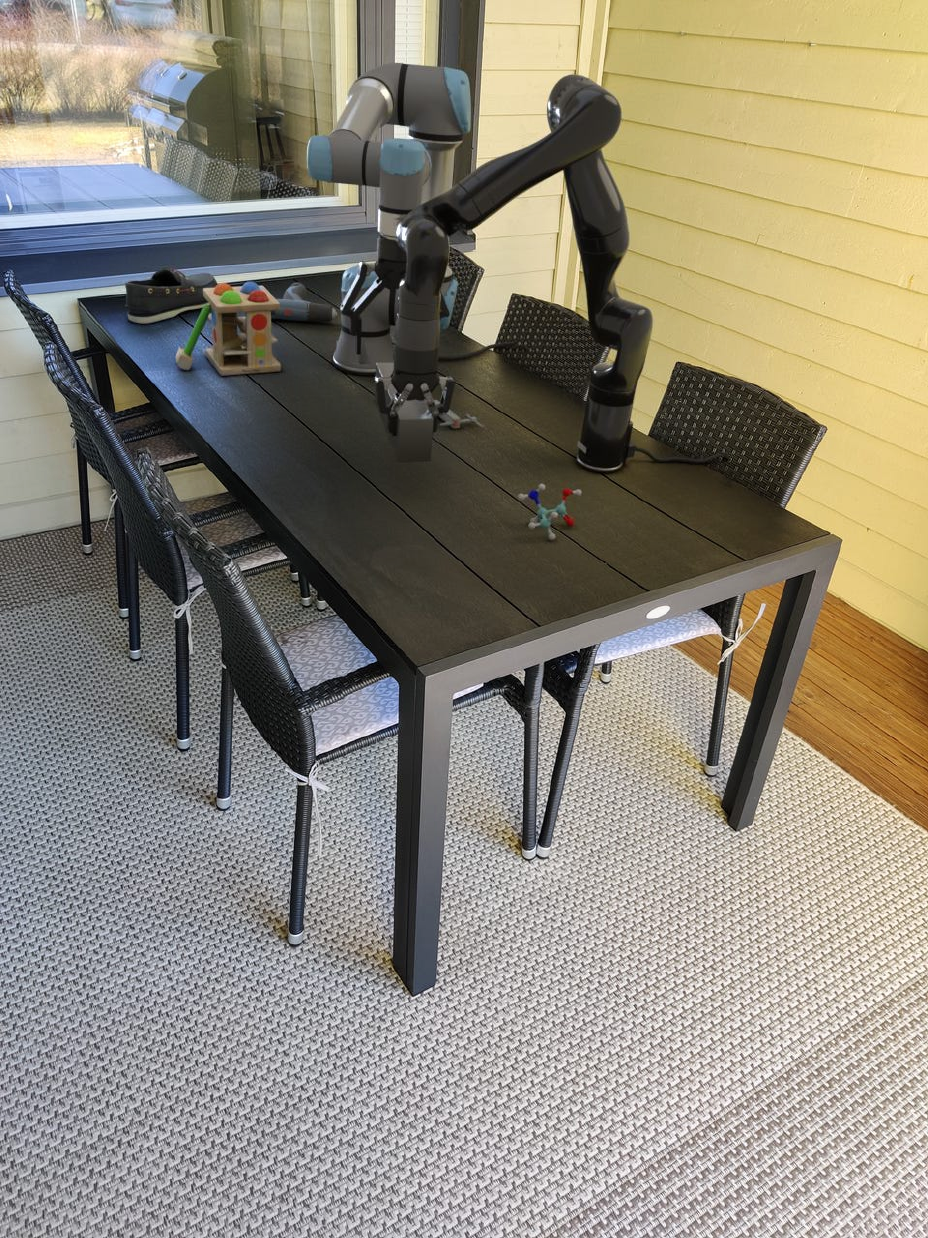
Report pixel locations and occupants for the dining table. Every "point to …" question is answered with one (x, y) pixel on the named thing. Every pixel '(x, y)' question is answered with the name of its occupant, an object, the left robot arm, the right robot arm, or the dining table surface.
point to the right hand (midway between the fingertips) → (412, 433)
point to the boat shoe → (166, 295)
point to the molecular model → (554, 512)
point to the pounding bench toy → (229, 347)
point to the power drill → (301, 307)
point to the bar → (408, 424)
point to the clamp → (455, 418)
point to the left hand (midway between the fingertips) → (393, 352)
